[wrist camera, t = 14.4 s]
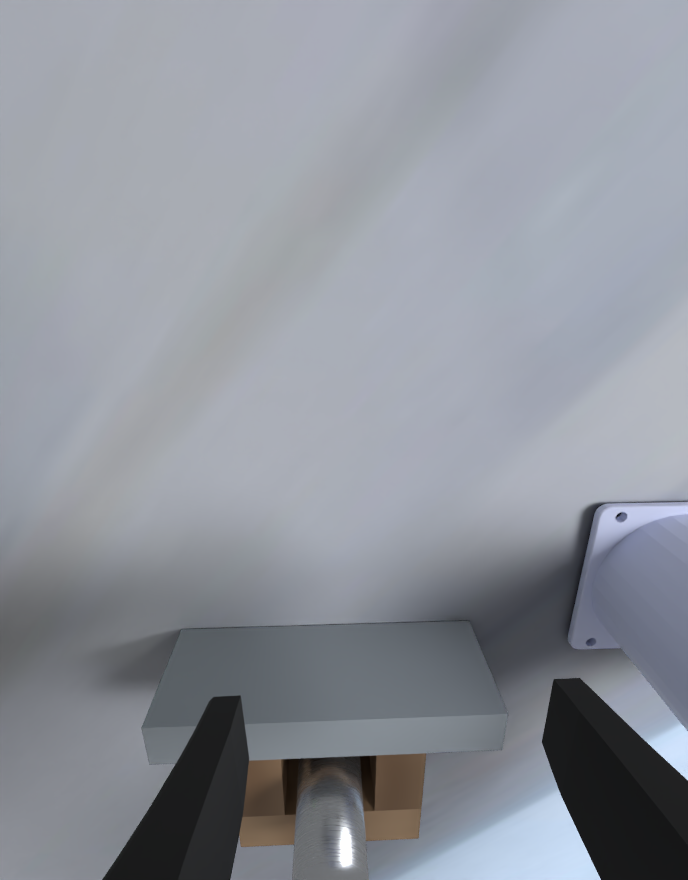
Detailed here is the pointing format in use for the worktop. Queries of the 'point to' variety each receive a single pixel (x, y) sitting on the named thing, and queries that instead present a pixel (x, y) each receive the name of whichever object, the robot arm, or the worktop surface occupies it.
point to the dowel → (330, 820)
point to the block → (383, 786)
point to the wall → (332, 690)
